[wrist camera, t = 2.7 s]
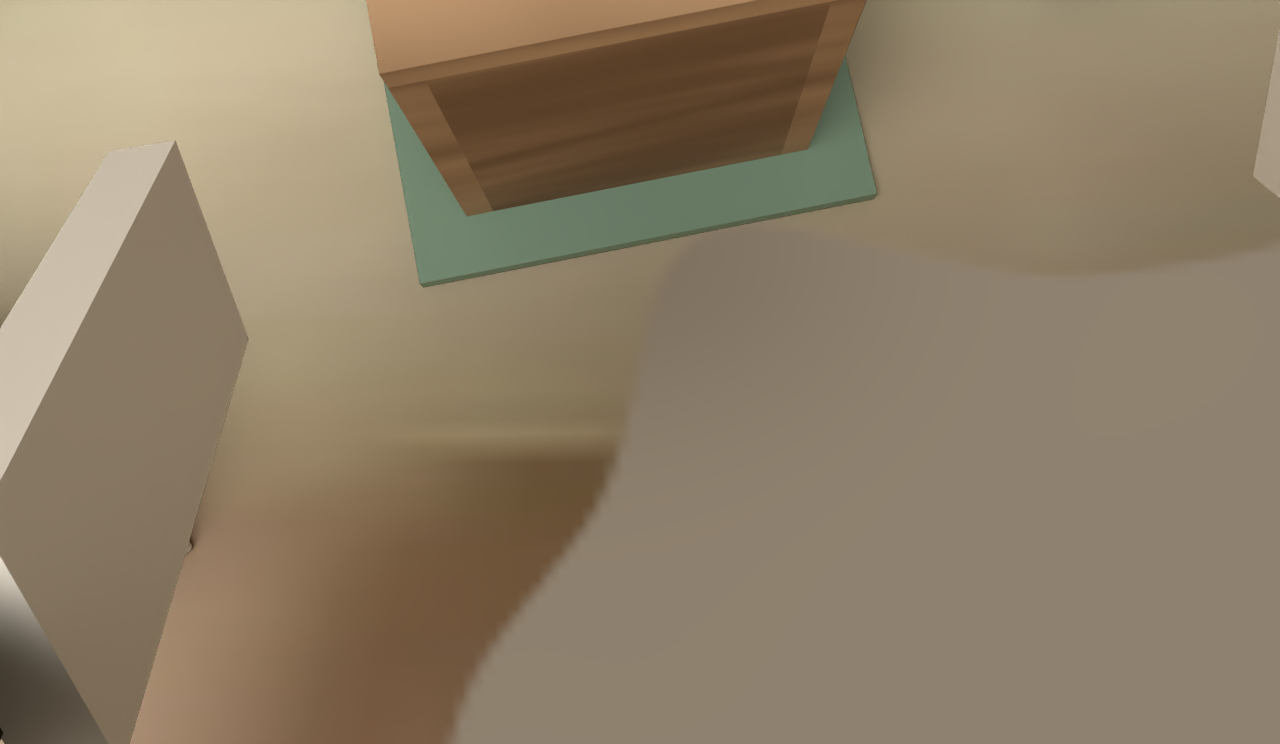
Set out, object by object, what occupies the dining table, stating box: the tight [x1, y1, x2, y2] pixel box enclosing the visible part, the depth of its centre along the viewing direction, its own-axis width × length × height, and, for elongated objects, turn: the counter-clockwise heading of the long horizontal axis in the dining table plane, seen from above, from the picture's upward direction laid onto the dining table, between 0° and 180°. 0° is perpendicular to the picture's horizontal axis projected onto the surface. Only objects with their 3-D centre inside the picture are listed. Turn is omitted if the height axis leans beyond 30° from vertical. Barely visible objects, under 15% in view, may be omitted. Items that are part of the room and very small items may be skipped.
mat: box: [384, 56, 877, 287], centre depth 32 cm, size 12×12×1 cm
